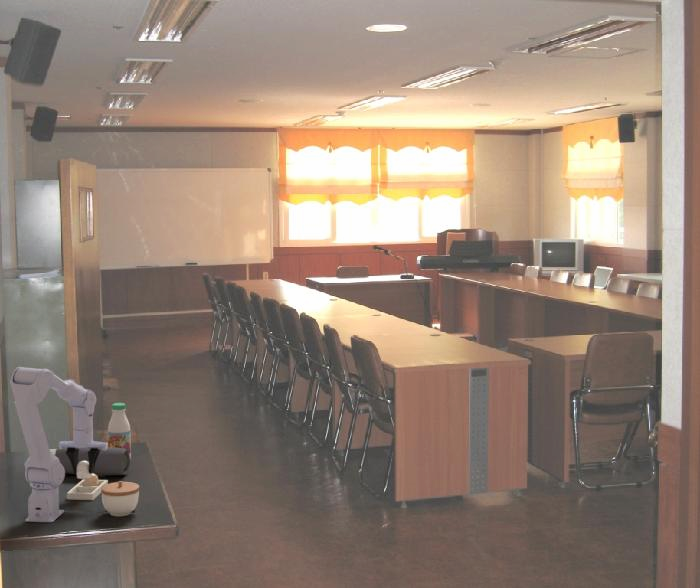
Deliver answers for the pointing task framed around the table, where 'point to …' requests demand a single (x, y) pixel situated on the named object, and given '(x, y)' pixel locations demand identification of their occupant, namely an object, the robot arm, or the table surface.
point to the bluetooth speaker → (99, 461)
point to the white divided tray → (86, 491)
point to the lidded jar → (120, 497)
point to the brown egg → (91, 480)
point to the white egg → (83, 470)
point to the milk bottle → (119, 428)
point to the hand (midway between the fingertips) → (83, 472)
